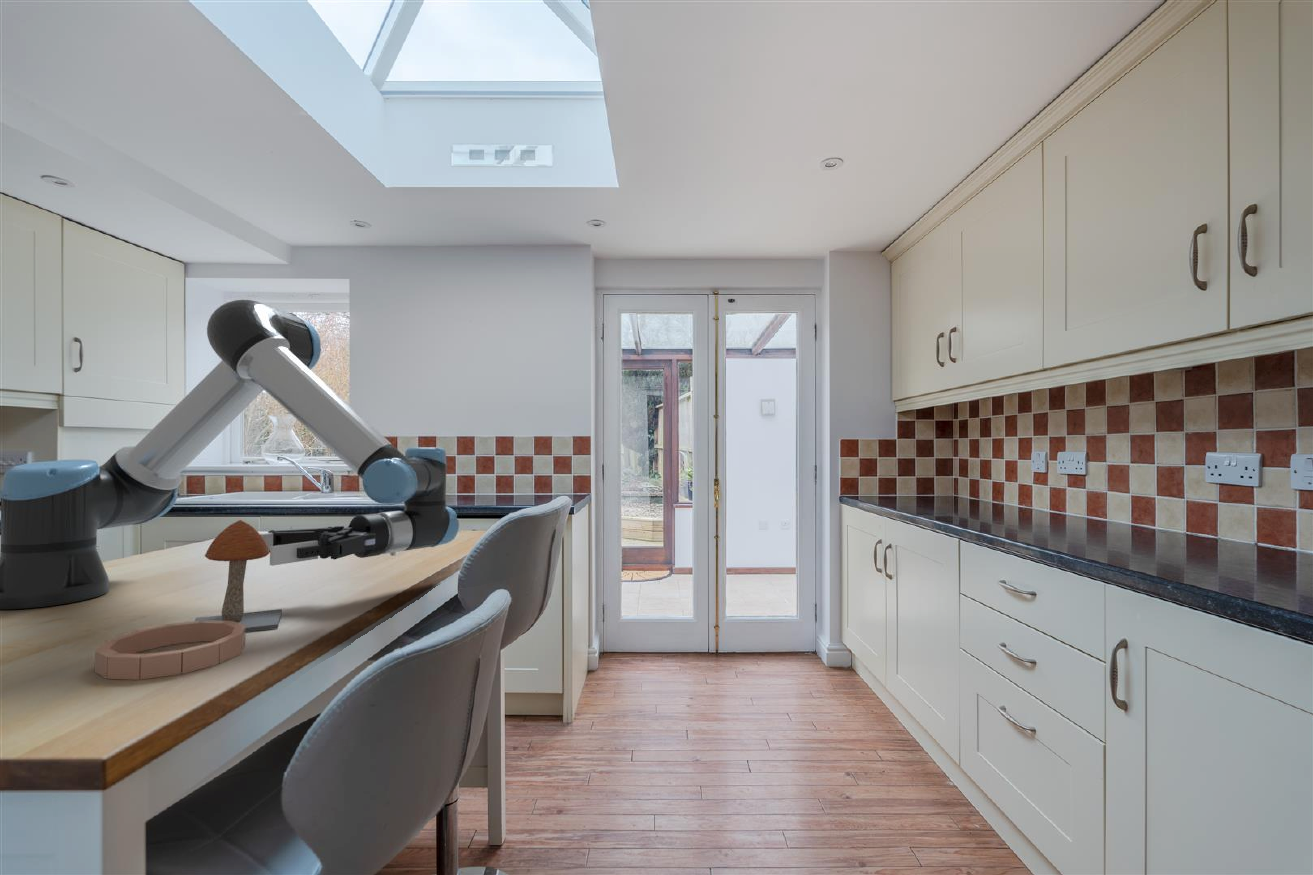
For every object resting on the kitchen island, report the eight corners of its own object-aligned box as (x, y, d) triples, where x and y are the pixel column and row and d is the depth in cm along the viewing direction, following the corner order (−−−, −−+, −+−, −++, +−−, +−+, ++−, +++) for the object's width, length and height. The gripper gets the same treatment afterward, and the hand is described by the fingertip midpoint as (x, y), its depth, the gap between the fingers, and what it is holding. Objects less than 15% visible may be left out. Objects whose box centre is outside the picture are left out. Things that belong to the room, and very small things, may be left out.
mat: (196, 621, 91) (196, 617, 91) (281, 612, 96) (282, 609, 96) (183, 639, 83) (183, 634, 83) (277, 628, 88) (277, 624, 88)
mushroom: (278, 619, 91) (280, 519, 91) (216, 632, 84) (218, 525, 84) (254, 610, 95) (256, 515, 95) (194, 622, 89) (196, 520, 89)
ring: (118, 648, 79) (118, 629, 79) (249, 632, 86) (250, 615, 86) (78, 687, 66) (78, 665, 67) (236, 666, 73) (236, 645, 73)
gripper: (422, 562, 102) (291, 587, 84) (339, 547, 115) (210, 566, 97) (423, 518, 102) (292, 533, 84) (339, 508, 115) (211, 519, 97)
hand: (247, 551), depth 90 cm, fingers open, 13 cm apart
